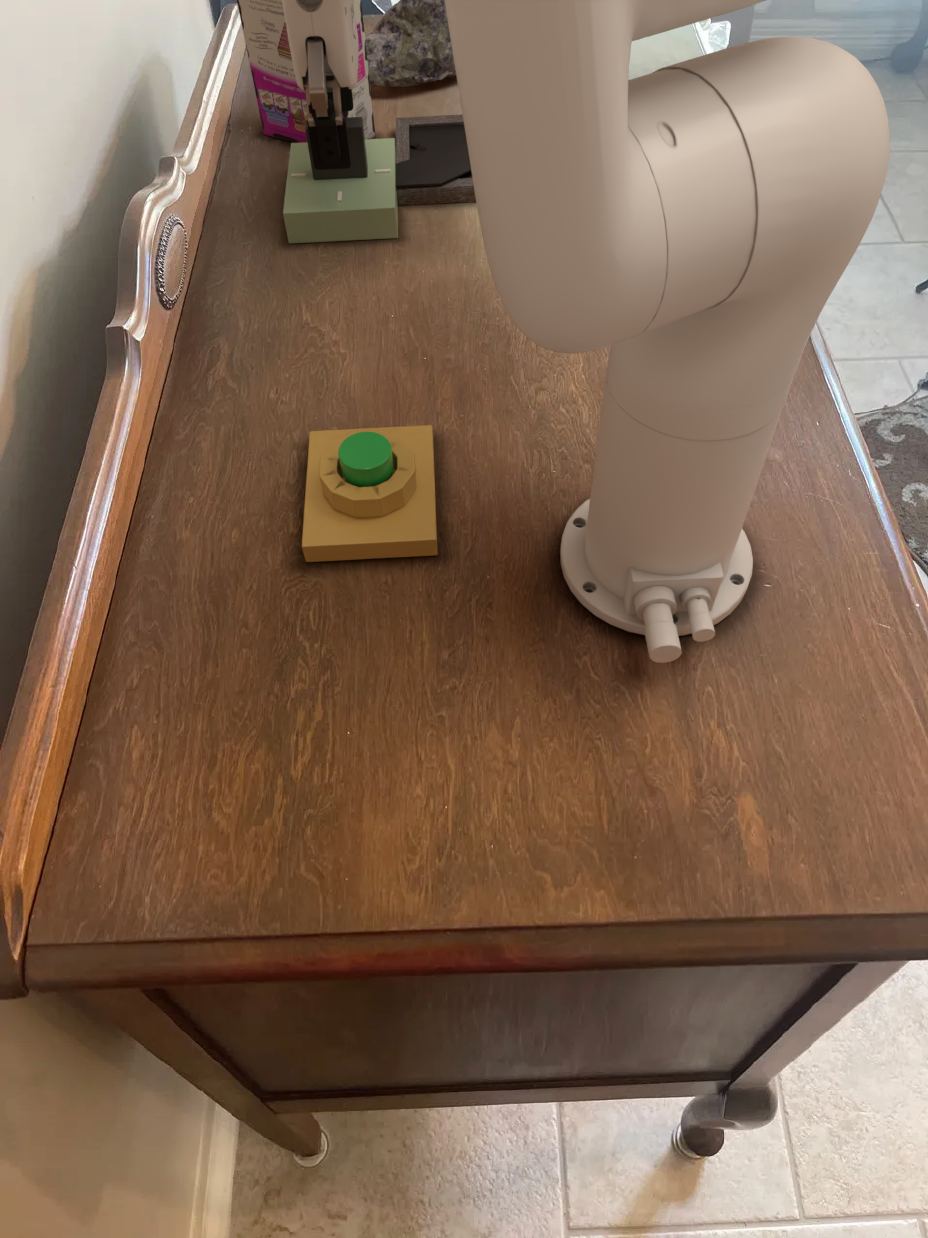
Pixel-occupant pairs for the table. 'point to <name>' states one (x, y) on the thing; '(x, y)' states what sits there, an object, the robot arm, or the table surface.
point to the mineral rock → (410, 45)
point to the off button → (366, 459)
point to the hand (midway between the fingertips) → (334, 137)
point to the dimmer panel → (342, 198)
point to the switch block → (371, 500)
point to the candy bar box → (292, 72)
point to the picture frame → (432, 161)
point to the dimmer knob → (356, 152)
